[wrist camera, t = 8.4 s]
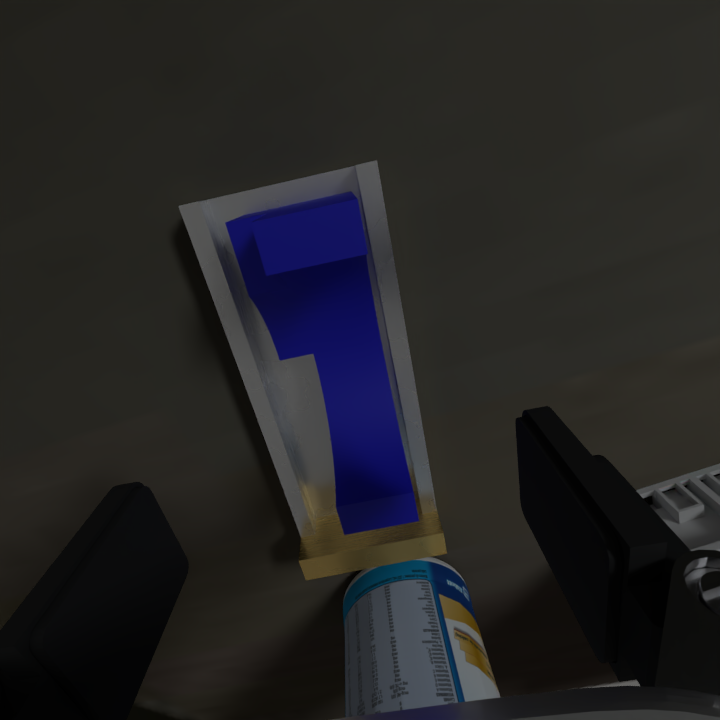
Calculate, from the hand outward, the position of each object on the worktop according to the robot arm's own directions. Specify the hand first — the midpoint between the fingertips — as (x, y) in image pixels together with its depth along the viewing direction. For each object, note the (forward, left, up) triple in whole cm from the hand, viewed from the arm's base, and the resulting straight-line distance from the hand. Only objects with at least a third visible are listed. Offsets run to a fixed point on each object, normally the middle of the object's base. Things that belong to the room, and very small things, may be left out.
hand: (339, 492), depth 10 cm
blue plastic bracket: (0, 0, -10) cm, 10 cm away
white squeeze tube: (+1, +2, -10) cm, 10 cm away
